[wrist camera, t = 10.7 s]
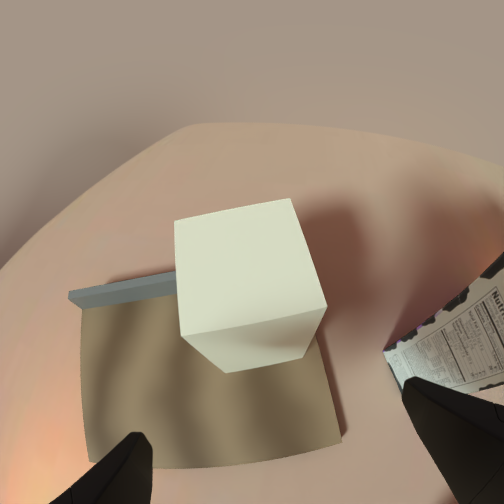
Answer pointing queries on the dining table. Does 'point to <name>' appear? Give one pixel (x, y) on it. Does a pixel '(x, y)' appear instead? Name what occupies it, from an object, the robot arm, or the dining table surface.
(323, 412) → the shelf board
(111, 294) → the rail
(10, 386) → the dining table surface
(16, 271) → the dining table surface
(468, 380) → the candy box
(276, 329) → the carton
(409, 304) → the dining table surface
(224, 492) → the dining table surface
